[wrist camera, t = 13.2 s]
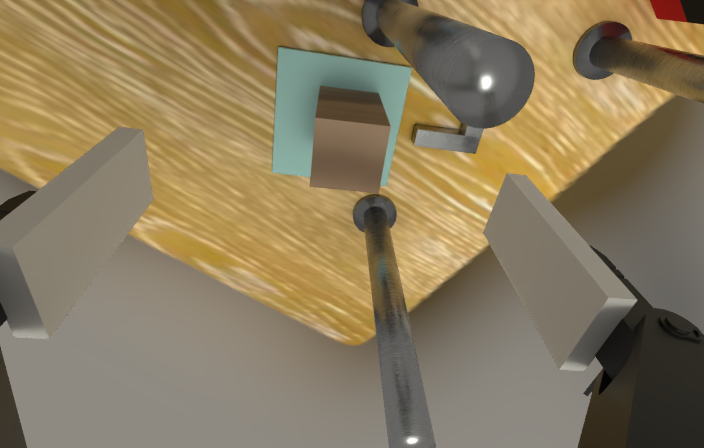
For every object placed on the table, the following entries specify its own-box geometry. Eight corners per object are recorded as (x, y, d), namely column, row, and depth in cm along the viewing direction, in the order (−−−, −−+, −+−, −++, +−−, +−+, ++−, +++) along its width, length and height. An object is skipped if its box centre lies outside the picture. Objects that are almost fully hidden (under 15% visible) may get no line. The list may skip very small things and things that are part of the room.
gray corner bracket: (411, 139, 37) (414, 145, 35) (428, 66, 33) (432, 69, 32) (470, 147, 37) (475, 153, 36) (493, 76, 34) (499, 80, 33)
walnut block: (320, 85, 33) (315, 117, 26) (378, 92, 34) (390, 126, 26) (315, 142, 36) (309, 186, 28) (369, 148, 36) (378, 193, 29)
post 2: (358, 41, 32) (395, 150, 12) (367, -22, 30) (433, -21, 10) (410, 49, 33) (534, 168, 12) (423, -12, 30) (602, 9, 10)
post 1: (350, 229, 42) (363, 468, 21) (356, 192, 39) (378, 421, 19) (391, 233, 42) (442, 472, 22) (399, 197, 40) (466, 426, 20)
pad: (273, 170, 38) (272, 172, 37) (279, 46, 32) (278, 47, 32) (385, 183, 39) (386, 186, 39) (410, 66, 33) (411, 68, 33)
